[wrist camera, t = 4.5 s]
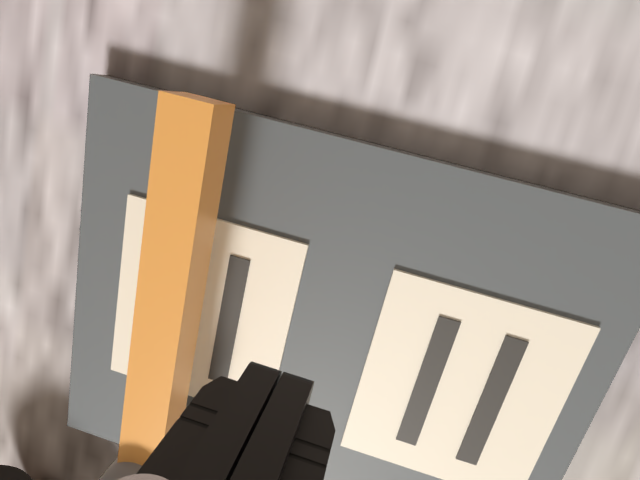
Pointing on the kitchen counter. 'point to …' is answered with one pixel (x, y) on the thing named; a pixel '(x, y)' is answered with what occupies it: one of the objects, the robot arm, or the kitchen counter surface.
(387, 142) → the kitchen counter surface
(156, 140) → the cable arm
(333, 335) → the label board
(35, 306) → the kitchen counter surface
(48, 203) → the kitchen counter surface
